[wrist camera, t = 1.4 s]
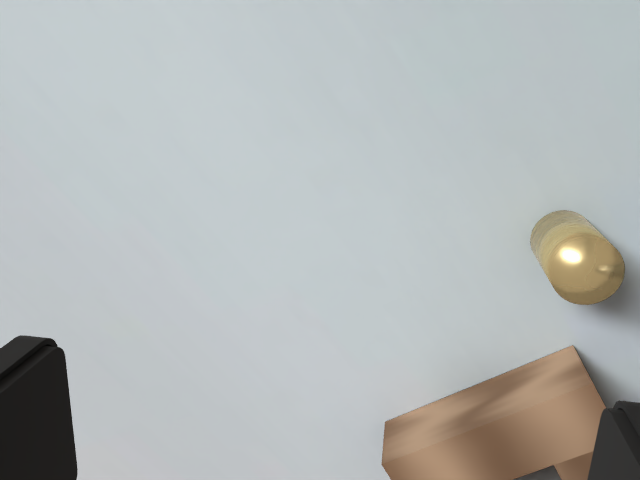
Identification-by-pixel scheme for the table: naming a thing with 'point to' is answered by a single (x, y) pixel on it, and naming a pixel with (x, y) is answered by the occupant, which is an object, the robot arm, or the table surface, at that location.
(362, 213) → the table surface
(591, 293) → the short pin
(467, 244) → the table surface
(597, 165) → the table surface
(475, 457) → the socket block
